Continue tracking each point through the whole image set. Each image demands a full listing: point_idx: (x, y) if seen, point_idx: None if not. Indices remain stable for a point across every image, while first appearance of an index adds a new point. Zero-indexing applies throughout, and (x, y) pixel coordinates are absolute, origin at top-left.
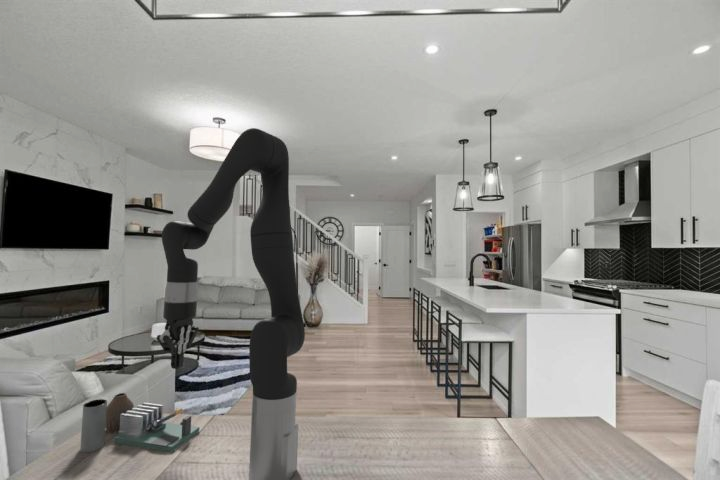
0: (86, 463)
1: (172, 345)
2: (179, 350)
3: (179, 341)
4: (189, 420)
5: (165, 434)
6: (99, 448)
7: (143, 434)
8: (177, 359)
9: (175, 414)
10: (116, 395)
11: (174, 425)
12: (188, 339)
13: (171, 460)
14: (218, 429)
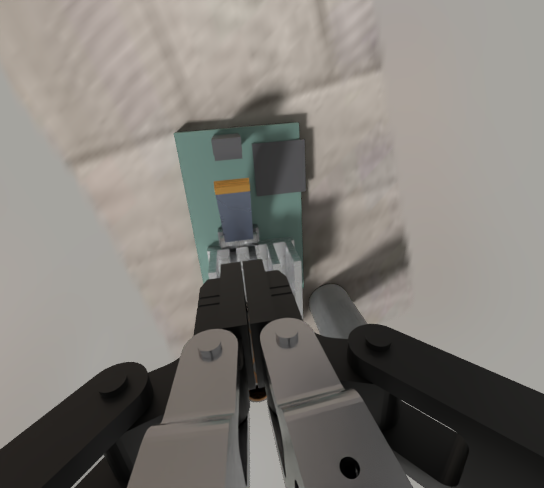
0: (376, 258)
1: (482, 398)
2: (298, 344)
3: (386, 444)
4: (221, 137)
5: (251, 194)
6: (330, 284)
7: (278, 239)
8: (277, 301)
9: (248, 182)
10: (258, 399)
11: (201, 212)
12: (141, 471)
13: (328, 89)
14: (132, 78)
